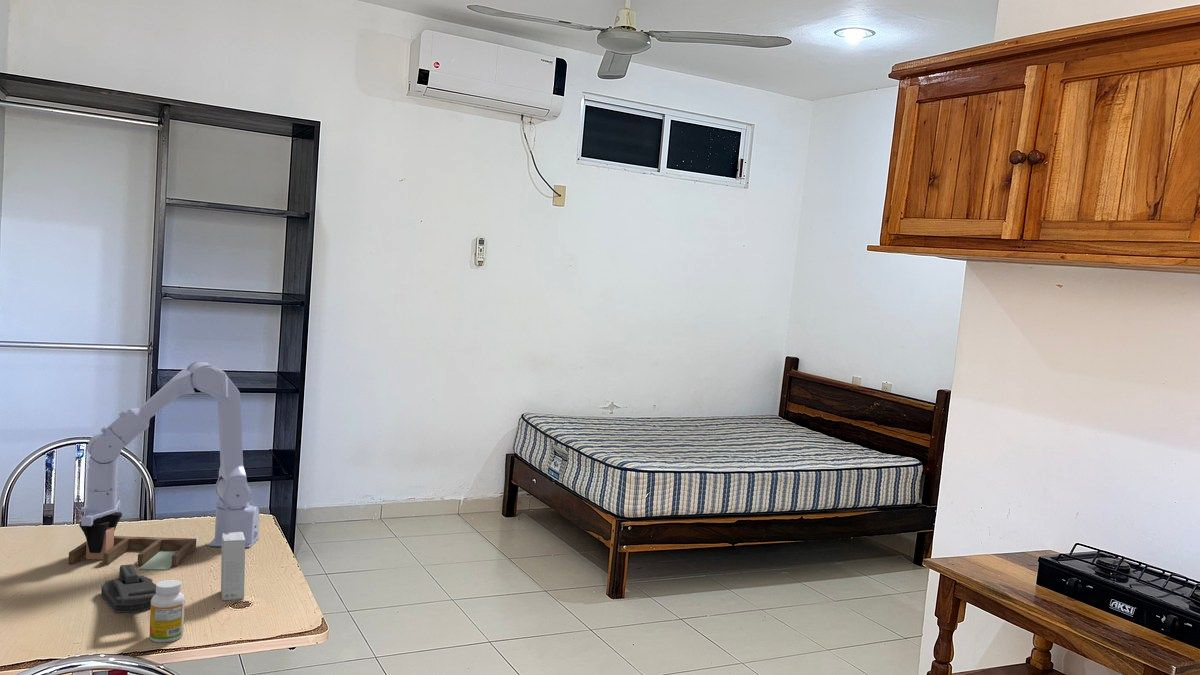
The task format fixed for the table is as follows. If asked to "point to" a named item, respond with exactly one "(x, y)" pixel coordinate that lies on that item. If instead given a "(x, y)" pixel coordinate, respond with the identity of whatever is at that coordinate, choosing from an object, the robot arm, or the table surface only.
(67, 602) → the table surface
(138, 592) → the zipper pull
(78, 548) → the notched rack
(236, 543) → the skincare box
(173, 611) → the supplement bottle
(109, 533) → the terracotta block
